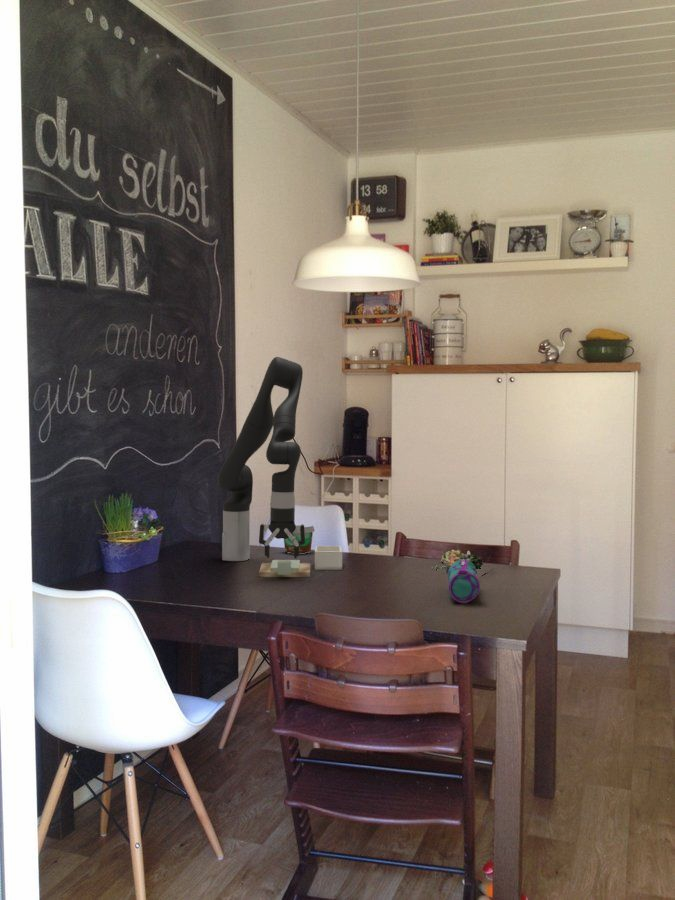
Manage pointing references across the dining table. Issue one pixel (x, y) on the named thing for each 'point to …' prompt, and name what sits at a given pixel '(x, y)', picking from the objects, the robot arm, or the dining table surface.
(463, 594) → the pencil case
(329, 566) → the tub
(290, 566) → the pale grey block
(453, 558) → the floral arrangement
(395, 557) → the dining table surface
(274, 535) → the robot arm
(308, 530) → the food container
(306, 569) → the board
